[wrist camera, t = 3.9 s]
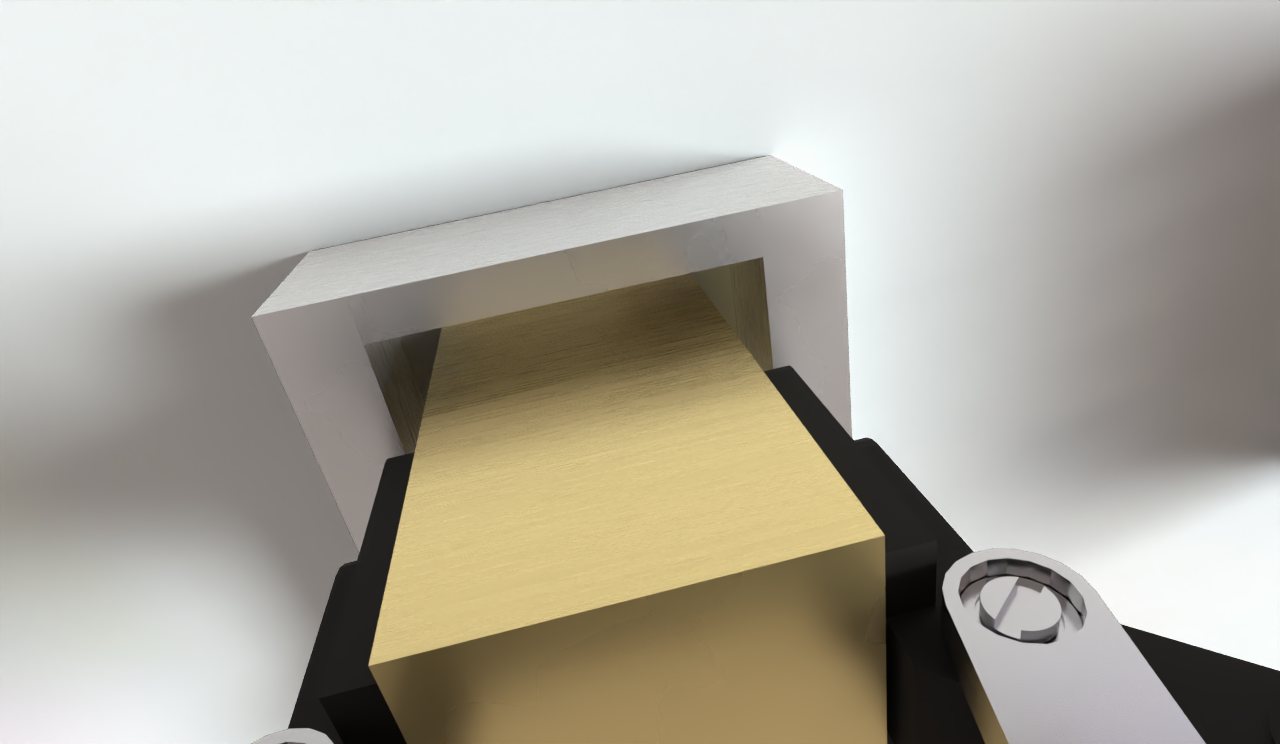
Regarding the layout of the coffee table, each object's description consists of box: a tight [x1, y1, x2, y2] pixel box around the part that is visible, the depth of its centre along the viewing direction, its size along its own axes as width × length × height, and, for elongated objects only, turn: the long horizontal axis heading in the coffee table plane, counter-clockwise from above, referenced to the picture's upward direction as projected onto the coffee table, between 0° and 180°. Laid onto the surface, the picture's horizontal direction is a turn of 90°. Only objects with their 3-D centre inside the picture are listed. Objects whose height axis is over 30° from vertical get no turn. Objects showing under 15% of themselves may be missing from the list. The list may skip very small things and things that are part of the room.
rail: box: [251, 155, 852, 553], centre depth 15 cm, size 21×8×3 cm, turn 10°
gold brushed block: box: [368, 273, 887, 744], centre depth 10 cm, size 4×4×7 cm
